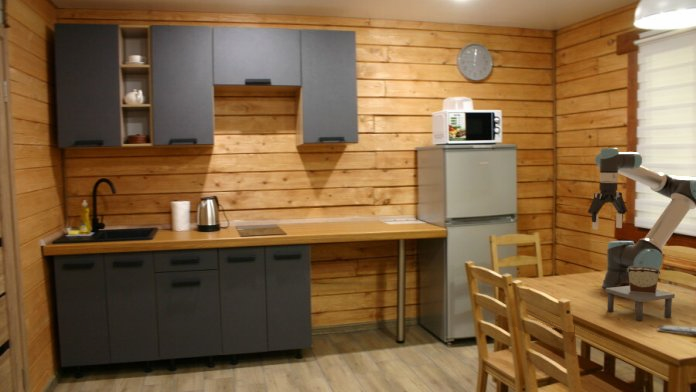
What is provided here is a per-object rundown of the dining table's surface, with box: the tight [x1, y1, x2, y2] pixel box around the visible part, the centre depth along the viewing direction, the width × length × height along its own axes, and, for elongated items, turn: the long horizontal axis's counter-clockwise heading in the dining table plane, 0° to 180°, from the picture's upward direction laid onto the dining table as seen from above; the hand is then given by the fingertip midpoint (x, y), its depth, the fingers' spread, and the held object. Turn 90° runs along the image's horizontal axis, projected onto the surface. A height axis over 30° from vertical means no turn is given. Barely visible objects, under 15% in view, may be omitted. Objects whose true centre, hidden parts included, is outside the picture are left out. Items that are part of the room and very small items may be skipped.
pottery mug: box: [616, 282, 630, 298], centre depth 269 cm, size 12×10×8 cm
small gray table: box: [605, 286, 676, 322], centre depth 241 cm, size 18×18×10 cm
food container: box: [627, 266, 661, 294], centre depth 240 cm, size 12×6×10 cm, turn 68°
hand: (607, 228), depth 267 cm, fingers open, 13 cm apart
